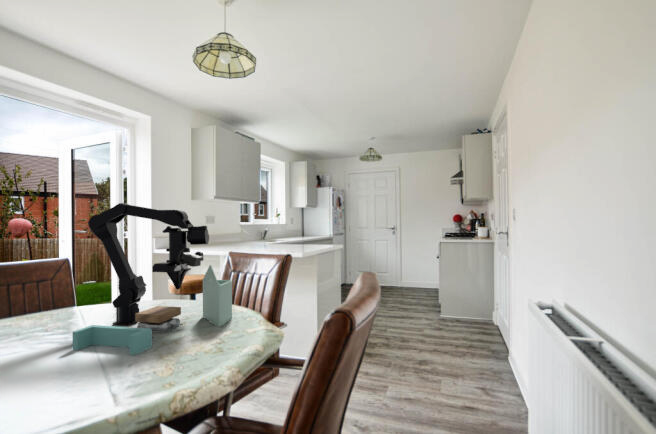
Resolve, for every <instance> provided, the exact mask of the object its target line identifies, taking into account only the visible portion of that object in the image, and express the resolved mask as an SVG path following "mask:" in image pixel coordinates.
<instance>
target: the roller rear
mask: <svg viewBox="0 0 656 434" xmlns="http://www.w3.org/2000/svg"><path fill="white" fill-rule="evenodd" d="M164 322H169V323H170V324H171V327H175V328H176V329H177V328H178V327H179V326H181V325H180V324H181V320H180V318H178V317H174V318H171V319H169V320H166V321H164ZM175 328H174V329H175Z"/></svg>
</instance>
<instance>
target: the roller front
mask: <svg viewBox="0 0 656 434" xmlns="http://www.w3.org/2000/svg"><path fill="white" fill-rule="evenodd" d="M136 328H149V329H152V331H163V332H165V333H167V332H169V331H170V330H171V329H170V328H171V324H170V323H169V322H161V323H151V322H137V325H136Z"/></svg>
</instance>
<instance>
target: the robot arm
mask: <svg viewBox="0 0 656 434" xmlns="http://www.w3.org/2000/svg"><path fill="white" fill-rule="evenodd" d="M127 216H129V217H130V216H131V217H137V218H143V219H149V220H154V221H155V220H156V221H158V222H160V223H163V224H166V225H167V226H166V227H165V229H163V230H162V233H164V234H165V233H166V234H168V247H167V248H166V250H165V251H166V252H168V259H167V260H166V262H164V261H163V262H157V263H154V264H153V265H151V266H152V273H166V274H167V275H168V277H169V279H170V280H171V282H172V284H173V285H174V287H175V290H181V288H182V285H183V281H184V278H185V276H186V273H188V272H189V271H191V269H192V268H193V267H200V266H201V263H202V261H204V253H203V252H202V251H199V250H198V251H196V252H191V249H190V247H187V246H188V245H187V243H189V244H190V245H191V246H193V245H194V246H195V245H196V246H197V245H198V246H199V245H200V246H202V245H204V246H205V245H209V242H210V234H209V230H208V226H207V225H200V226H195V225H193V224H192V222H191V221H190V220H189V216H188V214H187V212H186V211H185V210H184V211H183V210H179V209H155V208H148V207H143V206H138V205H131V204H128V203H122V202H120V203H117V204H116V205H114V206H113V207H110V208H109V209H106V210H104V211H102V212H101V213H99V214H94V215H91V216H90V218H89V220H88V221H87V225H88V228H89V229H90V230H91V232H92V234H93V235H94V236H95V237H97V239H99V241H101V243H102V245H103V247H104V249H105V252H106V254H107V256H108V257H109V258H108V259H109V261H110V262H111V264H112V266H113V269H114V271H115V273H116V276H117V279H118V292H119V295H118V296H117V297H116V298H115V299H114V300H113V301H112V305H113V308H116V309H115V312H116V314H115V315H116V317H115V319H116V321H114V322H112V325H116V326H117V325H120V326H121V325H122V326H129V325H132V324H134V323H136V322H135V314H136V313H139V312H140V308H139V303H140V301H141V299H142V297H144V295H145V293H147V287H146V286H147V284H146V283H145V281H144V277H143V276H142V275H138V276H137V274H135V273H134V271H133V269H132V267H131V264H130V263H129V260H128V259H127V256H126V254H125V251H124V249H123V247H122V245H121V242H120V240H119V239H118V226H117V224H119V223H120V222H121V221H122V220H124V219H125V217H127ZM171 226H172V227H171ZM182 229H183V230H182ZM184 229H185V230H184ZM191 267H192V268H191Z"/></svg>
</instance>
